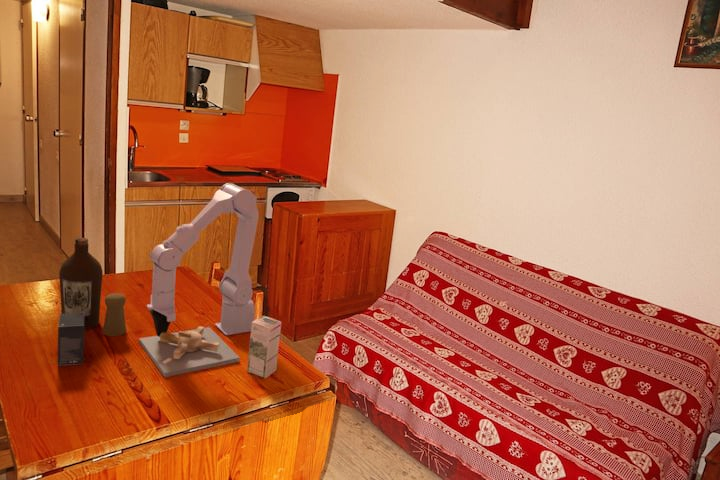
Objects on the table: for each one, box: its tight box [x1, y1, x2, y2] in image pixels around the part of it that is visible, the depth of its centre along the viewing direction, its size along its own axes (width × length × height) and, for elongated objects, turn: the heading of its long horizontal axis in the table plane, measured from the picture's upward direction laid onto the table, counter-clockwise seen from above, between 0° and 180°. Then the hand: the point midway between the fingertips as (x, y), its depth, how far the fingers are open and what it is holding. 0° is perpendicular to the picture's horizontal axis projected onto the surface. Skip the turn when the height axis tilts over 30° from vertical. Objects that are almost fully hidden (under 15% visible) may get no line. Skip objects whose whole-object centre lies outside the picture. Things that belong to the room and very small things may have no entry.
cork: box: [102, 292, 127, 337], centre depth 148 cm, size 6×6×11 cm
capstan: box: [160, 326, 219, 359], centre depth 143 cm, size 12×12×4 cm
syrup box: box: [246, 315, 282, 379], centre depth 138 cm, size 6×6×14 cm
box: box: [57, 313, 85, 367], centre depth 132 cm, size 8×6×11 cm
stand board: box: [138, 326, 240, 378], centre depth 144 cm, size 20×20×2 cm
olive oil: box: [58, 237, 103, 331], centre depth 148 cm, size 11×11×25 cm
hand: (161, 335), depth 146 cm, fingers closed
